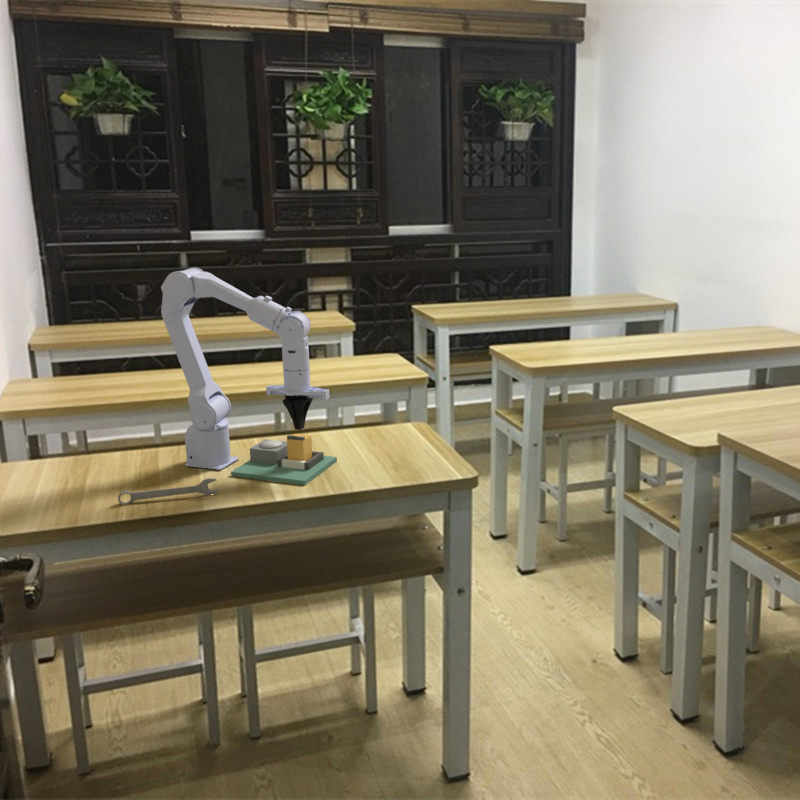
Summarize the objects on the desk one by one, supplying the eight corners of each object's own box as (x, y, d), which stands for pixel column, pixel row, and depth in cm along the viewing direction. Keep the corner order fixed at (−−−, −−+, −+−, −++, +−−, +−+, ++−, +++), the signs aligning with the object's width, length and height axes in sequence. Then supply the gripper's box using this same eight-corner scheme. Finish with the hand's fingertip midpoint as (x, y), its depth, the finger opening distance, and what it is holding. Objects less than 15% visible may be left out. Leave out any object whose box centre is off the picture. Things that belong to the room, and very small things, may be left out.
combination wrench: (116, 491, 157) (219, 479, 161) (116, 488, 158) (219, 476, 163) (118, 508, 158) (221, 496, 162) (119, 506, 159) (220, 493, 164)
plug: (288, 464, 176) (286, 436, 174) (296, 459, 180) (295, 431, 178) (304, 466, 175) (302, 438, 173) (312, 460, 178) (311, 432, 177)
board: (231, 476, 173) (229, 456, 172) (267, 453, 187) (266, 435, 186) (305, 485, 167) (304, 465, 166) (336, 461, 181) (336, 442, 180)
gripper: (257, 370, 171) (261, 430, 174) (318, 374, 166) (321, 436, 170) (273, 363, 177) (277, 421, 181) (332, 367, 172) (335, 427, 176)
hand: (299, 428), depth 176 cm, fingers closed
